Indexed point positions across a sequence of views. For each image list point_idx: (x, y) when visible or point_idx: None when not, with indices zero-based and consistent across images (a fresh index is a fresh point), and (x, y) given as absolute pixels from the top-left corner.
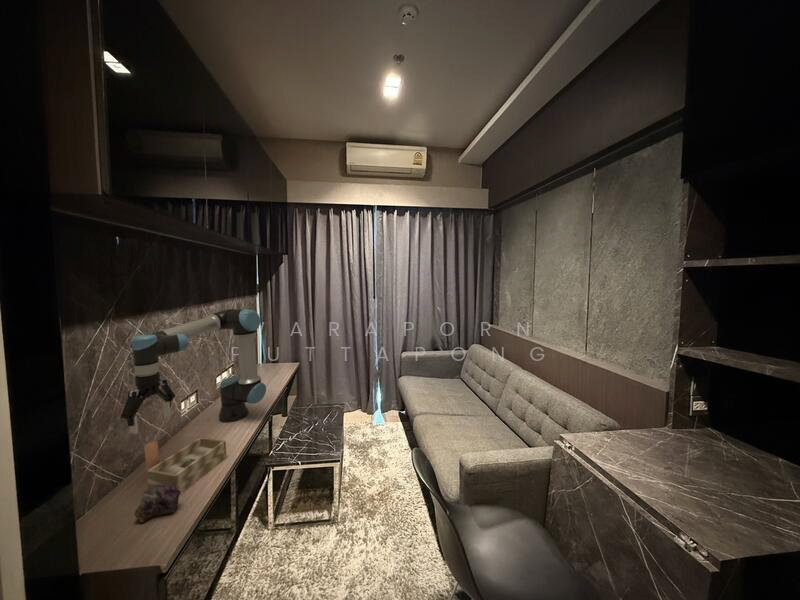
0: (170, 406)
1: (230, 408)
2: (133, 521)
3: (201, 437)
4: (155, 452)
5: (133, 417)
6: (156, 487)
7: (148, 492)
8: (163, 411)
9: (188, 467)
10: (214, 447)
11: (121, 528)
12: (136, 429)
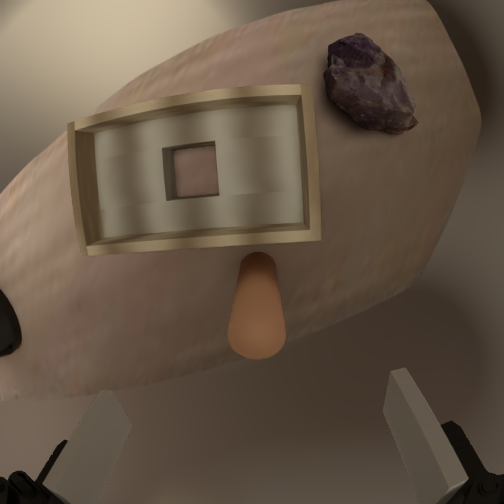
0: (62, 445)
1: None
2: (401, 137)
3: (80, 250)
4: (256, 290)
5: (459, 485)
6: (381, 94)
7: (405, 100)
8: (118, 453)
9: (248, 87)
10: (109, 117)
11: (421, 146)
12: (414, 389)
